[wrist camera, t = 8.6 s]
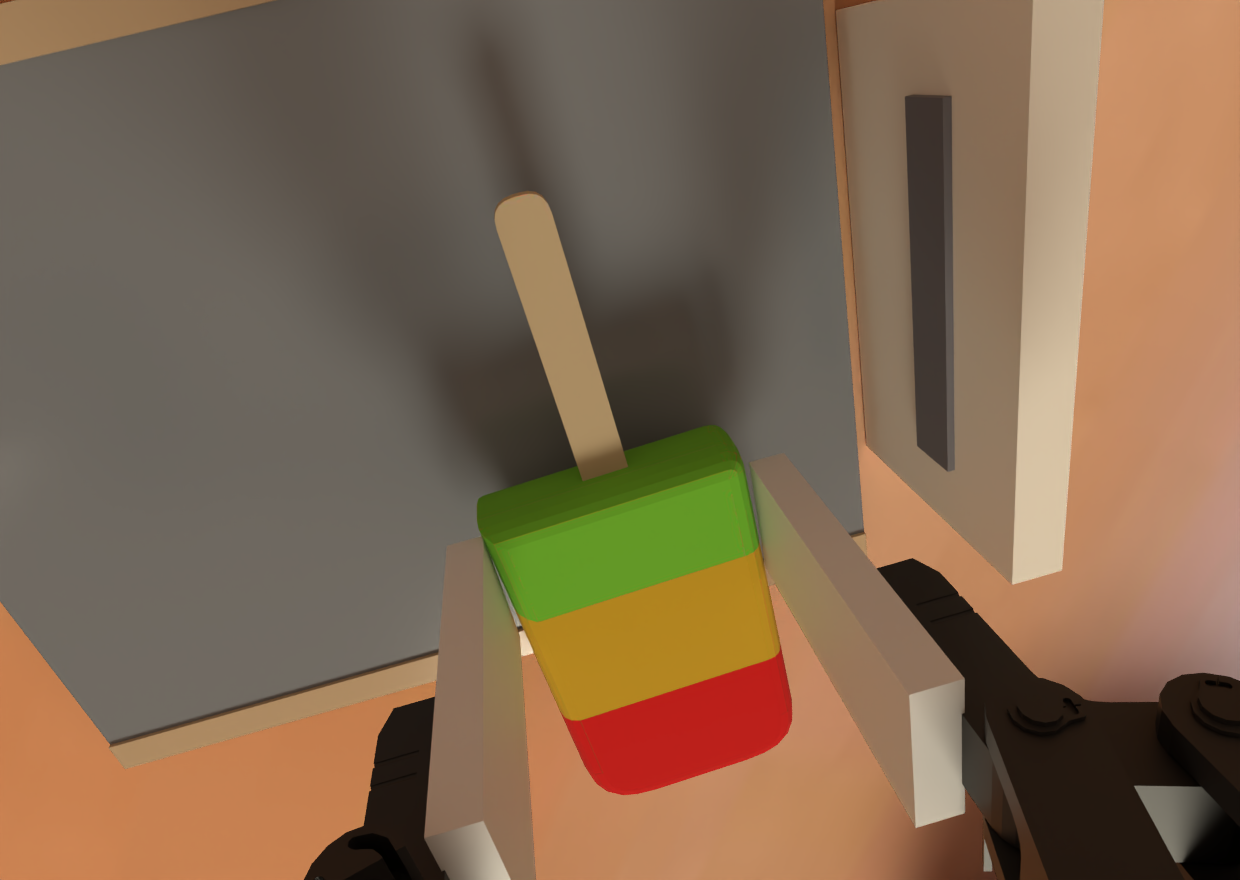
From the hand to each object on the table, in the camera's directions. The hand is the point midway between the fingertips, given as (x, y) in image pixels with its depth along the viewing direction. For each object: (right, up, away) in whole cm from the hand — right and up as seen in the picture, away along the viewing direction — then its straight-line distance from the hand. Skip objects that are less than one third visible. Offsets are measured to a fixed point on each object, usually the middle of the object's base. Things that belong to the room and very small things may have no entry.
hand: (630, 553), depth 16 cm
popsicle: (0, +1, +1) cm, 2 cm away
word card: (+6, +7, +1) cm, 9 cm away
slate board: (-5, +4, +1) cm, 6 cm away
